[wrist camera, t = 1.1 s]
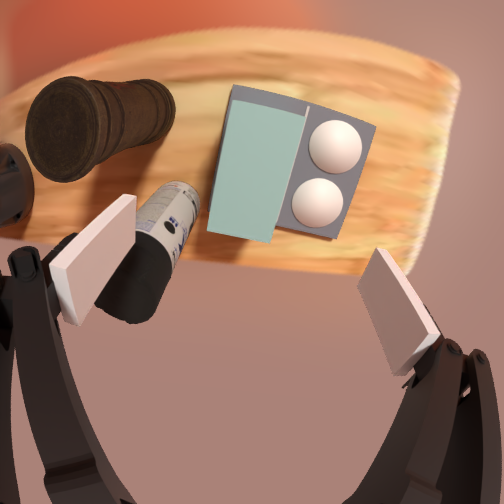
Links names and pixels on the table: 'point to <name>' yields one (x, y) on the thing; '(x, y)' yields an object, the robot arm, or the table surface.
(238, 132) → the pale green block
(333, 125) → the slate board
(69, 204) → the table surface
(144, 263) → the spray can
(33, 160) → the container
